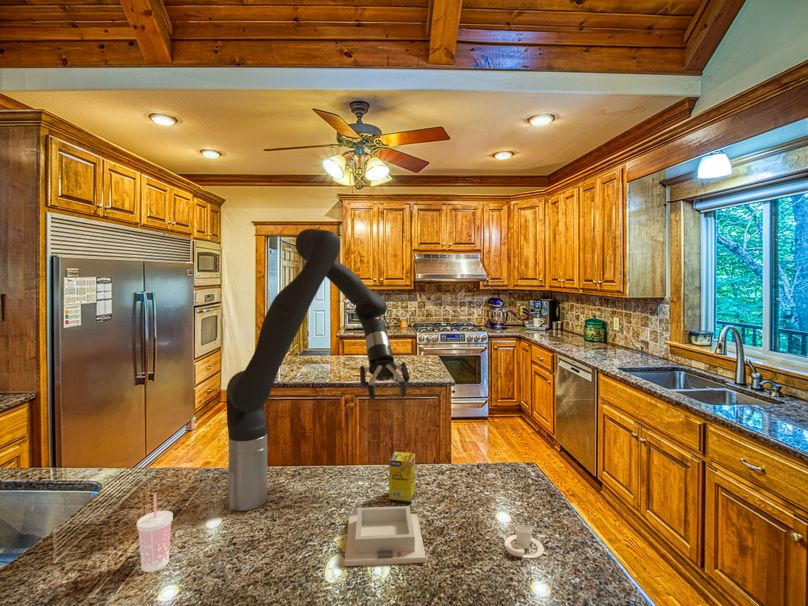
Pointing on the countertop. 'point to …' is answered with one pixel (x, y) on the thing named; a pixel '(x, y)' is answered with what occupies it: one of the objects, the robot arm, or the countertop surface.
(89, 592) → the countertop surface
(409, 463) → the supplement box
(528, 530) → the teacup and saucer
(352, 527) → the socket base
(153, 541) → the beverage cup
